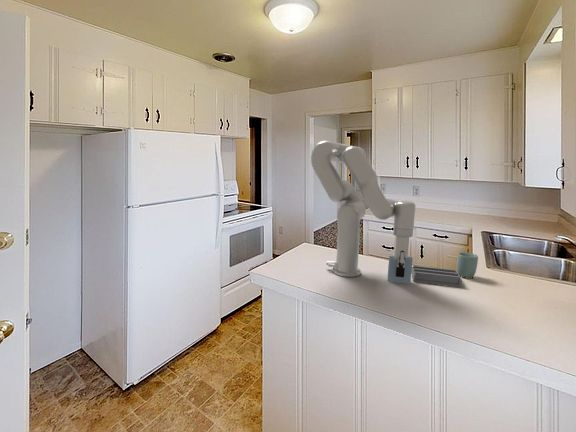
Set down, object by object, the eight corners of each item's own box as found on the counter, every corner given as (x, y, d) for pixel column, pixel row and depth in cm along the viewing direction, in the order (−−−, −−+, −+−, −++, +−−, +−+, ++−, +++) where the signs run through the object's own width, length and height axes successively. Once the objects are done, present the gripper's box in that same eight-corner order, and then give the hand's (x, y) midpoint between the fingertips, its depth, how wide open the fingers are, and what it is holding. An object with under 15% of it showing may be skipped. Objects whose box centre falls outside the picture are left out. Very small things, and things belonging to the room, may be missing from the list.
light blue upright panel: (387, 281, 131) (389, 256, 129) (387, 279, 133) (389, 254, 131) (410, 284, 128) (412, 258, 126) (409, 282, 130) (412, 257, 128)
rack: (413, 281, 131) (414, 272, 130) (411, 273, 141) (411, 264, 140) (461, 287, 126) (462, 278, 125) (455, 278, 136) (456, 269, 136)
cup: (457, 272, 144) (460, 251, 142) (476, 276, 139) (479, 254, 137) (453, 276, 138) (456, 254, 136) (473, 281, 133) (476, 258, 132)
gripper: (392, 226, 136) (389, 266, 139) (394, 235, 120) (390, 280, 123) (410, 228, 134) (407, 268, 137) (415, 237, 118) (410, 282, 121)
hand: (399, 273), depth 130 cm, fingers open, 5 cm apart
